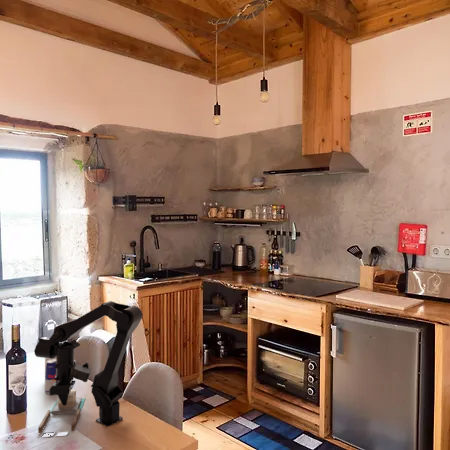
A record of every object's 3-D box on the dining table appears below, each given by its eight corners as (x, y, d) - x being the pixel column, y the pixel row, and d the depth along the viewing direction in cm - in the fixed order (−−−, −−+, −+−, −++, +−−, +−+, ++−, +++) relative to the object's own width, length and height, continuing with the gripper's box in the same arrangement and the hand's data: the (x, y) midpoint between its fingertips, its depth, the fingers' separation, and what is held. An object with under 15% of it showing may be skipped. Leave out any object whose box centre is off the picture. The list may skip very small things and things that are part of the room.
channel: (72, 435, 130) (72, 429, 130) (36, 438, 128) (36, 431, 128) (80, 414, 144) (80, 408, 144) (47, 416, 143) (47, 410, 142)
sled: (76, 412, 144) (76, 398, 144) (51, 414, 143) (52, 399, 143) (81, 400, 154) (81, 386, 154) (58, 401, 153) (58, 387, 153)
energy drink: (50, 395, 159) (51, 363, 159) (42, 392, 162) (42, 361, 162) (63, 390, 163) (63, 359, 163) (54, 387, 166) (54, 357, 166)
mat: (80, 411, 146) (80, 410, 146) (50, 413, 145) (50, 412, 145) (85, 399, 156) (85, 398, 156) (56, 400, 154) (56, 399, 154)
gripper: (85, 368, 136) (84, 416, 136) (93, 350, 155) (93, 392, 155) (49, 369, 134) (48, 418, 135) (61, 351, 153) (61, 394, 153)
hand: (64, 404), depth 144 cm, fingers closed
